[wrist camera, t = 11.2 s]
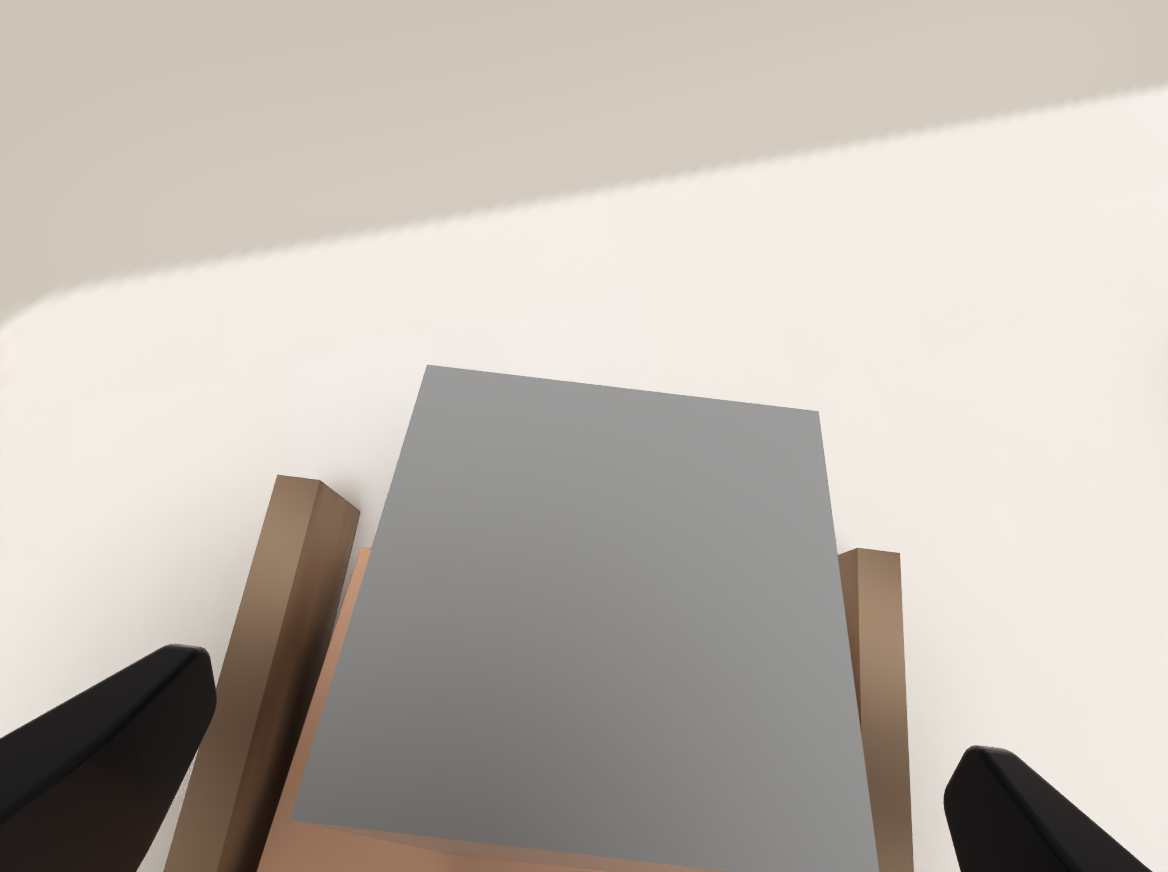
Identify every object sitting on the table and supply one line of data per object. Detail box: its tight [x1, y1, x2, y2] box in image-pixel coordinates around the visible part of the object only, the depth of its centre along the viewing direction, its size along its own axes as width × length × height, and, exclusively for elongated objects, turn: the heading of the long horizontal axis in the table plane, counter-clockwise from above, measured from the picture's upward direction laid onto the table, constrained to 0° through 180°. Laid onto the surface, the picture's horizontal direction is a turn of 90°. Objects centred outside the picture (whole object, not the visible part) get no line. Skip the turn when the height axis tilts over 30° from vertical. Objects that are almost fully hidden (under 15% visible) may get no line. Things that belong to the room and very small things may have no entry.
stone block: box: [290, 365, 879, 872], centre depth 13 cm, size 6×6×12 cm
